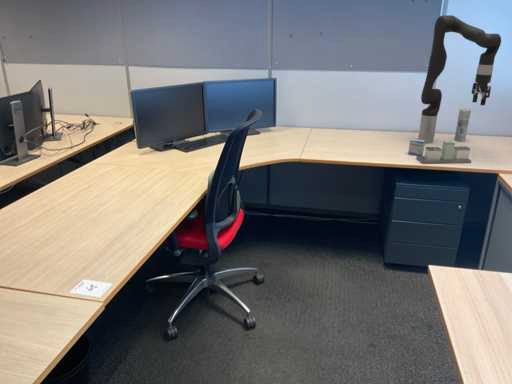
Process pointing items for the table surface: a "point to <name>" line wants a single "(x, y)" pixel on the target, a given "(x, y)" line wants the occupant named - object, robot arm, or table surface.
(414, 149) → the medicine box
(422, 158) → the grey notched block
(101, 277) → the table surface
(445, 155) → the module
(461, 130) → the spray paint can
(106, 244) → the table surface
